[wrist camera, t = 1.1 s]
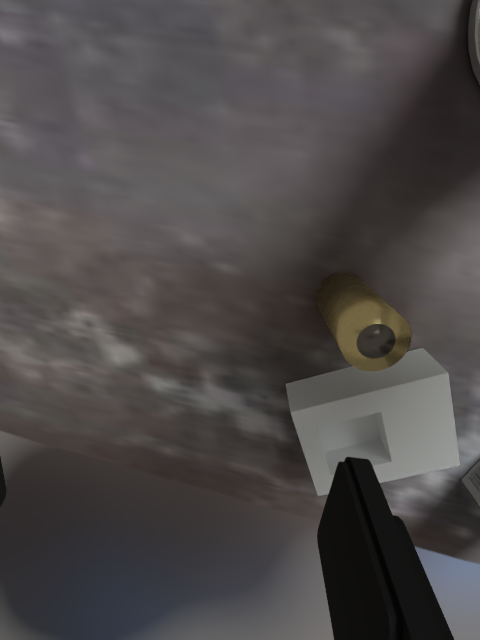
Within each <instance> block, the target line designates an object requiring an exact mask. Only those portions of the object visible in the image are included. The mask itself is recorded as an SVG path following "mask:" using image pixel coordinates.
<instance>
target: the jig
mask: <svg viewBox="0 0 480 640" xmlns="http://www.w3.org/2000/svg"><path fill="white" fill-rule="evenodd" d="M286 390H287V396H288V402H289V407H290V413H291V416H292V419H293V422H294V425H295V428H296V431H297V434H298V437H299V440H300V443H301V446H302V449H303V452H304V455H305V458H306V461H307V464H308V467H309V470H310V473H311V476H312V480H313V483H314V486H315V489H316V492H317V495H318V496H321V495H326V494H329V491H330V488H331V484H332V481H333V478H334V474H335V471H336V468H337V465H338V462H339V461H341V462H344V461H345V458H346V457H355V458H363V459H368V460H370V462H371V464H372V466H373V469H374V471H375V473H376V476H377V478H378V481H379V483H382V482H386V481H391V480H396V479H400V478H405V477H410V476H414V475H419V474H424V473H428V472H433V471H438V470H442V469H447V468H451V467H456V466H460V460H459V453H458V445H457V437H456V429H455V421H454V414H453V406H452V398H451V390H450V383H449V375H448V372H447V371H446V370H445V369H444V368H443V367H442V366H441V365H440V364H439V363H438V362H437V361H436V360H435V359H434V358H433V357H432V356H431V355H430V354H429V353H428V352H427V351H426V350H425V349H423V348H419V349H415V350H412V351H408V352H406V354H405V355H404V356H403V357H402V359H401V360H399V361H398V362H397V363H396V364H394V365H393V366H391V367H389V368H387V369H384V370H380V371H363V370H360V369H357V368H355V367H353V366H351V367H347V368H343V369H340V370H336V371H332V372H328V373H324V374H321V375H317V376H313V377H309V378H305V379H302V380H298V381H294V382H290V383H287V384H286Z"/></svg>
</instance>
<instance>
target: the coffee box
mask: <svg viewBox="0 0 480 640" xmlns="http://www.w3.org/2000/svg"><path fill="white" fill-rule="evenodd" d="M461 481H462V483H463V484H464V485H465V487H466V488H467V490H468V491H469V493H470V494H471V495H472V497H473V498H474V500H475V501H476V503H477V504H478V506H479V507H480V460H479V461H478V462H477V463H476V464H475V465H474V467H473V468H472V469H471V470H470V471H469V472H468V473H467V474H466V475H465V476H464V477H463V478H462V479H461Z"/></svg>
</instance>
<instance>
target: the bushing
mask: <svg viewBox="0 0 480 640" xmlns="http://www.w3.org/2000/svg"><path fill="white" fill-rule="evenodd" d="M316 302H317V306H318V309H319V310H320V312H321V314H322V316H323V318H324V320H325V322H326V324H327V326H328V327H329V329H330V331H331V333H332V335H333V337H334V339H335V341H336V343H337V344H338V346H339V348H340V350H341V352H342V354H343V356H344V358H345V359H346V360H347V362H348V363H349V364H351V365H352V366H353V367H355V368H357V369H360V370H363V371H380V370H384V369H387V368H389V367H391V366H393V365H394V364H396V363H397V362H398V361H399V360H401V359H402V357H403V356H404V355H405V354H406V352H407V350H408V348H409V346H410V342H411V330H410V327H409V324H408V323H407V321H406V320H405V319H404V317H403V316H401V315H400V314H399V313H398V312H397V311H396V310H395V309H394V308H393V307H391V306H390V305H389V304H388V303H387V302H386V301H385V300H384V299H383V298H381V297H380V296H379V295H378V294H377V293H376V292H375V291H374V290H373V289H371V288H370V287H369V286H368V285H367V284H366V283H365V282H364V281H363V280H361V279H360V278H359V277H358V276H356V275H354V274H351V273H337V274H334V275H332V276H330V277H328V278H327V279H326V280H324V281H323V283H322V284H321V285H320V287H319V289H318V291H317V295H316Z"/></svg>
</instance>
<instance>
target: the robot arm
mask: <svg viewBox="0 0 480 640" xmlns="http://www.w3.org/2000/svg"><path fill="white" fill-rule="evenodd" d="M468 51H469V55H470V60H471V65H472V69H473V72H474V74H475V76H476V78H477V81H478V83H479V85H480V0H472V4H471V8H470V16H469V24H468ZM5 496H6V486H5V480H4V474H3V469H2V463H1V458H0V506H1V505H2V503H3V501H4V499H5ZM317 539H318V548H319V553H320V559H321V565H322V571H323V577H324V582H325V588H326V594H327V600H328V605H329V612H330V617H331V623H332V629H333V635H334V640H454V638H453V636H452V634H451V631H450V629H449V627H448V624H447V622H446V620H445V617H444V615H443V613H442V610H441V608H440V606H439V603H438V601H437V599H436V596H435V594H434V592H433V589H432V587H431V585H430V582H429V580H428V578H427V575H426V573H425V571H424V568H423V566H422V564H421V561H420V559H419V557H418V554H417V552H416V550H415V547H414V545H413V543H412V540H411V538H410V536H409V533H408V531H407V529H406V527H405V525H404V523H403V521H402V520H401V519H400V518H399V517H398V516H394V515H392V513H391V510H390V508H389V506H388V503H387V501H386V498H385V496H384V493H383V491H382V488H381V486H380V483H379V481H378V478H377V476H376V473H375V471H374V469H373V466H372V464H371V462H370V460H368V459H363V458H355V457H346V458H345V461H344V462H341V461H339V462H338V465H337V468H336V471H335V474H334V478H333V481H332V484H331V488H330V491H329V494H328V498H327V501H326V504H325V508H324V511H323V514H322V518H321V521H320V524H319V528H318V535H317Z"/></svg>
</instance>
